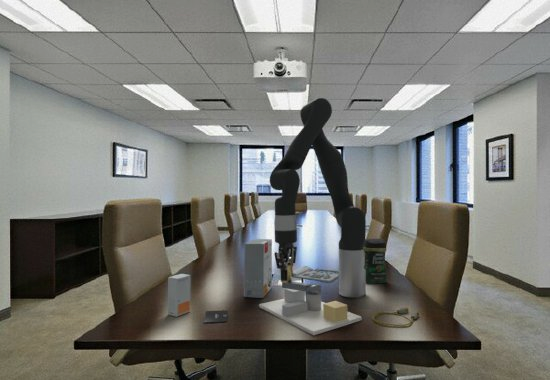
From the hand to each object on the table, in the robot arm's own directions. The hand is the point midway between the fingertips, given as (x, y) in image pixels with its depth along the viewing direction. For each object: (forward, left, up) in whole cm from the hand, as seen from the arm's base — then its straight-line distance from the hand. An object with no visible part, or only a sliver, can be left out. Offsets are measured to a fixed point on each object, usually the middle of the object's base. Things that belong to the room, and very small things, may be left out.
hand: (286, 278), depth 115 cm
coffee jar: (-50, -4, -10) cm, 51 cm away
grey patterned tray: (-38, -29, -10) cm, 49 cm away
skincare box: (+32, -15, -10) cm, 37 cm away
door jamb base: (-2, +9, -10) cm, 13 cm away
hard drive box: (-1, -20, -10) cm, 22 cm away
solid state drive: (+24, -5, -10) cm, 26 cm away
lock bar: (-2, +5, -3) cm, 6 cm away
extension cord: (-20, +29, -10) cm, 37 cm away
